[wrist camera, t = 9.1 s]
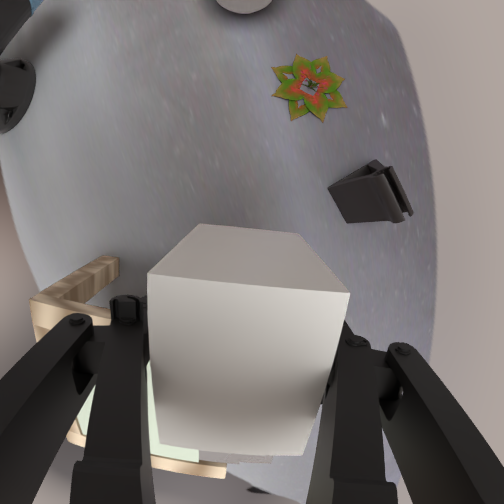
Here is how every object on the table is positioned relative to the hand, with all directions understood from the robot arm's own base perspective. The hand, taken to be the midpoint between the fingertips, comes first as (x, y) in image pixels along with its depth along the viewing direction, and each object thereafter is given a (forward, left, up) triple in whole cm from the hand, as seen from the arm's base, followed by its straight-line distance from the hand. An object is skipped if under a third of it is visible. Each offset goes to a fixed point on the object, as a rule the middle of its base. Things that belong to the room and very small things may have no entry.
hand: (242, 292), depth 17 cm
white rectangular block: (0, 0, 0) cm, 0 cm away
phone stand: (+16, +7, -27) cm, 32 cm away
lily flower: (+7, +22, -27) cm, 36 cm away
